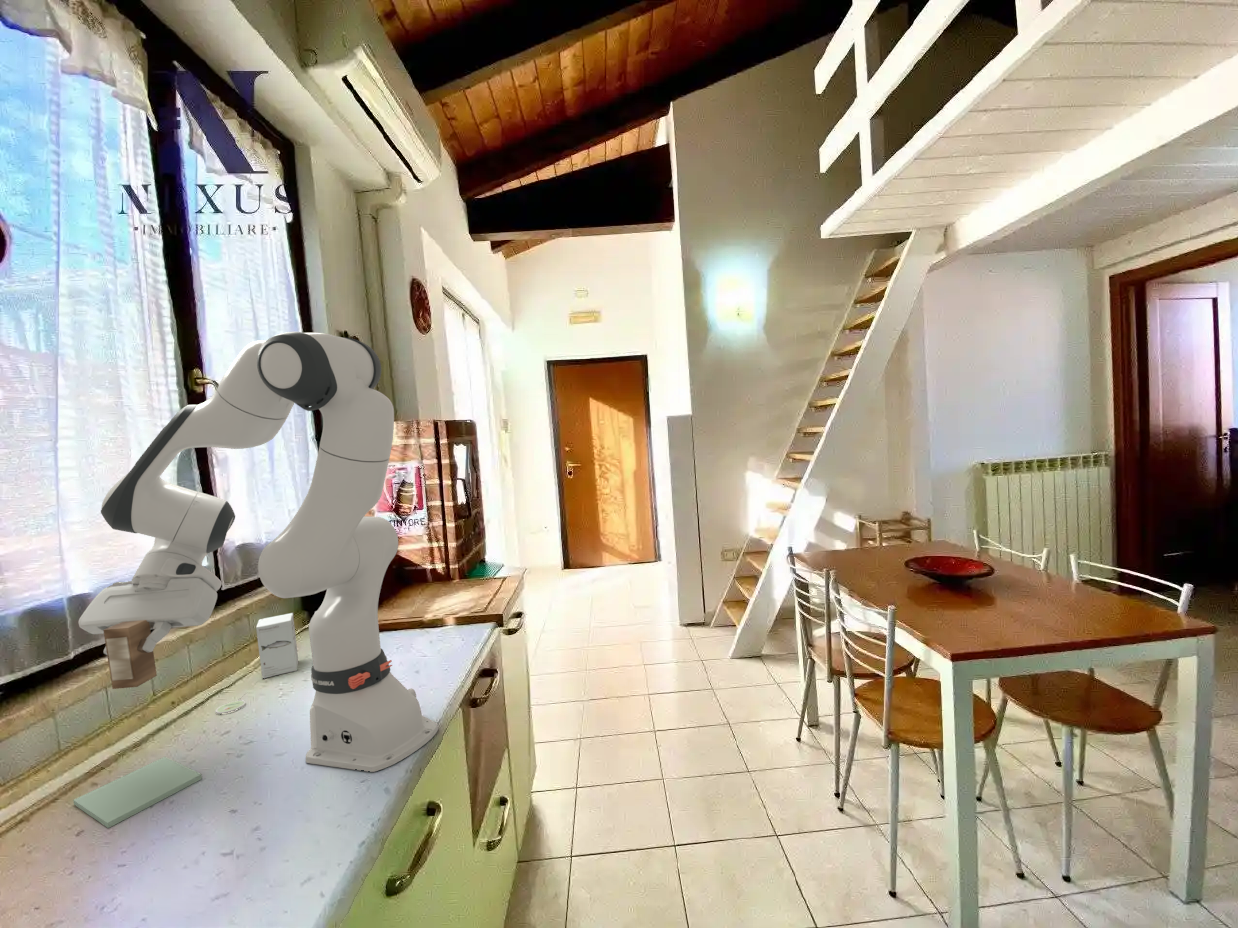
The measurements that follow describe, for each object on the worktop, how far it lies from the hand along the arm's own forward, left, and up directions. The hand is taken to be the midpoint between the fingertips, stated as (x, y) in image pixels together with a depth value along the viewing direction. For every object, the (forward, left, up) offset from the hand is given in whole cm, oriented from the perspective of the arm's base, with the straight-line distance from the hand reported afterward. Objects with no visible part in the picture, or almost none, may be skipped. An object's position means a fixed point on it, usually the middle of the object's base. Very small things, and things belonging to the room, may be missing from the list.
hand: (127, 652), depth 92 cm
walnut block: (0, -1, -5) cm, 5 cm away
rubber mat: (-4, +2, -21) cm, 22 cm away
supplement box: (+22, -35, -22) cm, 46 cm away
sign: (+16, -23, -22) cm, 35 cm away
